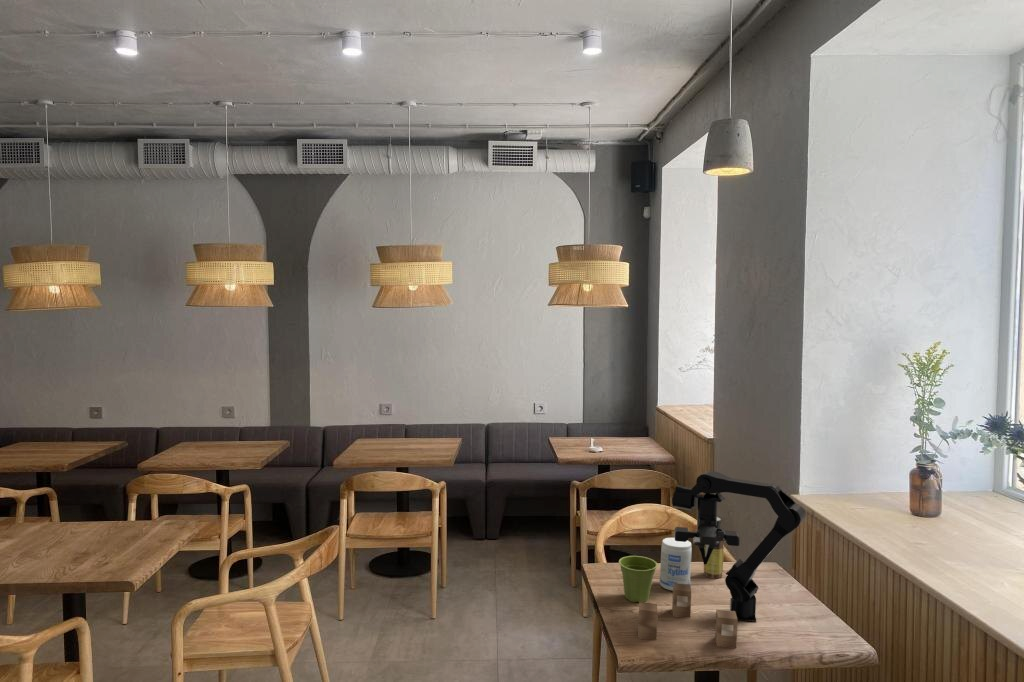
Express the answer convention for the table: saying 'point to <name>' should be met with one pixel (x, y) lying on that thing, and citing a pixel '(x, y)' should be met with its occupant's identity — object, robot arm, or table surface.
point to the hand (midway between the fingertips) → (705, 563)
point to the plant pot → (637, 577)
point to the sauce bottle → (715, 559)
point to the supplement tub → (675, 563)
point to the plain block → (647, 621)
